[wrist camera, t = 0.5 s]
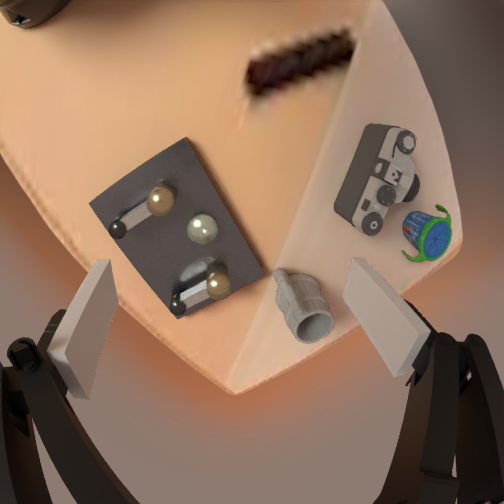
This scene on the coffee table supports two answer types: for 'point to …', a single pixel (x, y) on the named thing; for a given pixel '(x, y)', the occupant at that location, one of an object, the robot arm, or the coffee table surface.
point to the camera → (378, 177)
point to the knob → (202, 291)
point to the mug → (303, 306)
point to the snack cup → (428, 234)
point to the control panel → (179, 227)
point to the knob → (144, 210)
